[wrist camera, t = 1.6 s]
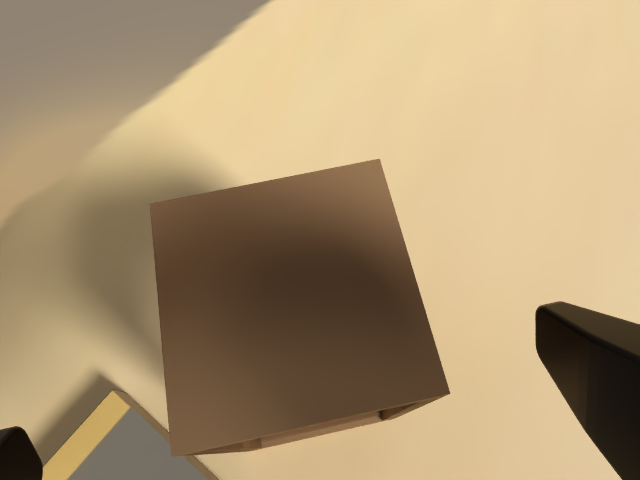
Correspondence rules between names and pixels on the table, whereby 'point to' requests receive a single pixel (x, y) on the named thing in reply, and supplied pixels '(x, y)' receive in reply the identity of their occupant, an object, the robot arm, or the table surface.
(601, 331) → the robot arm
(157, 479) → the dock
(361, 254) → the open wooden box
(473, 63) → the table surface
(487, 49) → the table surface
